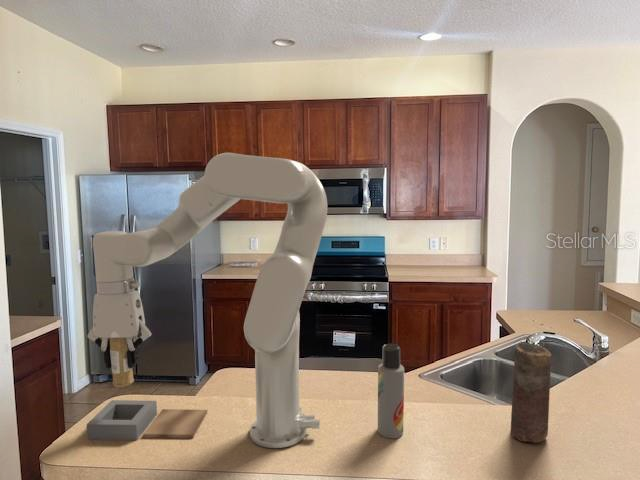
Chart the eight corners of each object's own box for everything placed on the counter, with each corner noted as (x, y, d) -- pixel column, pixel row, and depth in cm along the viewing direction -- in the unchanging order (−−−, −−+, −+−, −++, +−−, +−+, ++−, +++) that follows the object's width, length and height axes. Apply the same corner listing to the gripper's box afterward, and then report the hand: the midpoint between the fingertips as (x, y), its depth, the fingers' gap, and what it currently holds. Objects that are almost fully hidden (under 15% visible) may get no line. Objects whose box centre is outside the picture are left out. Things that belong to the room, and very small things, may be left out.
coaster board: (207, 412, 109) (207, 409, 109) (193, 438, 98) (192, 434, 98) (162, 412, 110) (162, 409, 109) (143, 437, 99) (143, 434, 99)
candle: (518, 423, 103) (522, 339, 101) (552, 435, 98) (557, 347, 96) (504, 436, 98) (508, 348, 96) (539, 450, 93) (544, 357, 90)
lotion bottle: (408, 431, 100) (409, 345, 98) (394, 442, 96) (395, 352, 94) (387, 422, 104) (388, 339, 102) (372, 432, 100) (373, 345, 98)
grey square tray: (157, 414, 109) (156, 400, 108) (137, 440, 98) (136, 424, 97) (112, 413, 109) (111, 400, 109) (87, 439, 98) (86, 424, 98)
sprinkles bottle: (136, 384, 101) (131, 327, 100) (114, 389, 99) (109, 331, 97) (131, 377, 105) (127, 322, 104) (110, 382, 103) (106, 325, 101)
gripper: (159, 282, 103) (164, 359, 105) (87, 284, 103) (94, 360, 106) (145, 290, 95) (151, 372, 98) (68, 291, 96) (76, 373, 98)
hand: (121, 365), depth 102 cm, fingers closed on sprinkles bottle, 4 cm apart
